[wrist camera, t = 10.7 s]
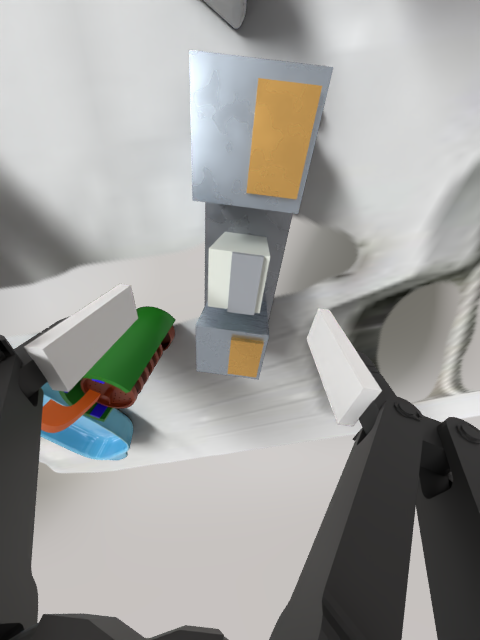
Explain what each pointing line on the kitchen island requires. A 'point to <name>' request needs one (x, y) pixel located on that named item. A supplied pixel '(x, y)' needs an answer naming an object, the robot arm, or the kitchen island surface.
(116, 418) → the casserole dish
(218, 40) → the kitchen island surface
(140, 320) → the motor
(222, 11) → the electrical switch
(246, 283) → the block
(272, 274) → the rail
